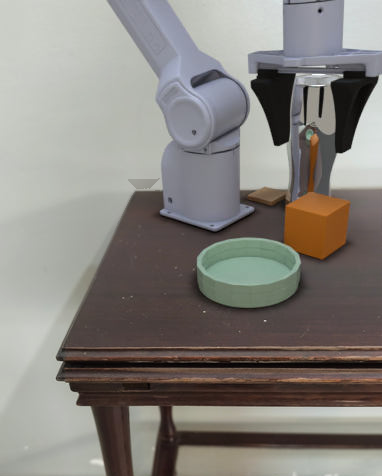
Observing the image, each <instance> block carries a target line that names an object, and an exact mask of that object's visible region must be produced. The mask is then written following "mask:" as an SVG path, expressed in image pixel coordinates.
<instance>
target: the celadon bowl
mask: <svg viewBox="0 0 382 476" xmlns="http://www.w3.org/2000/svg"><path fill="white" fill-rule="evenodd" d="M300 257H301V256H300V253H299V252H296V251H295V250H293V249H292V248H291V247H290V246H287V245H285V244H284V242H280V241H277V240H273V239H268V238H264V237H263V238H262V237H238V238H230V239H225V240H221V241H217V242H215V243H212V244H211V245H209V246H207V247H205V248H204V249H203V250H202V251H200V253H199V255H197V256H196V278H197V279H196V280H197V287H198V289H199V291H200V293H201V294H202V295H204V296H205V298H208V300H211V301H213V302H215V303H217V304H219V305H220V304H221V305H224V306H228V307H232V308H242V309H243V308H244V309H254V308H263V307H269V306H273V305H277V304H280V303H282V302H284V301H287V300H288V299H289V298H291V297H292V296H293V295H295V293H296V292H297V290H298V289H299V284H300V281H301V268H302V261H301V258H300Z"/></svg>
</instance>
